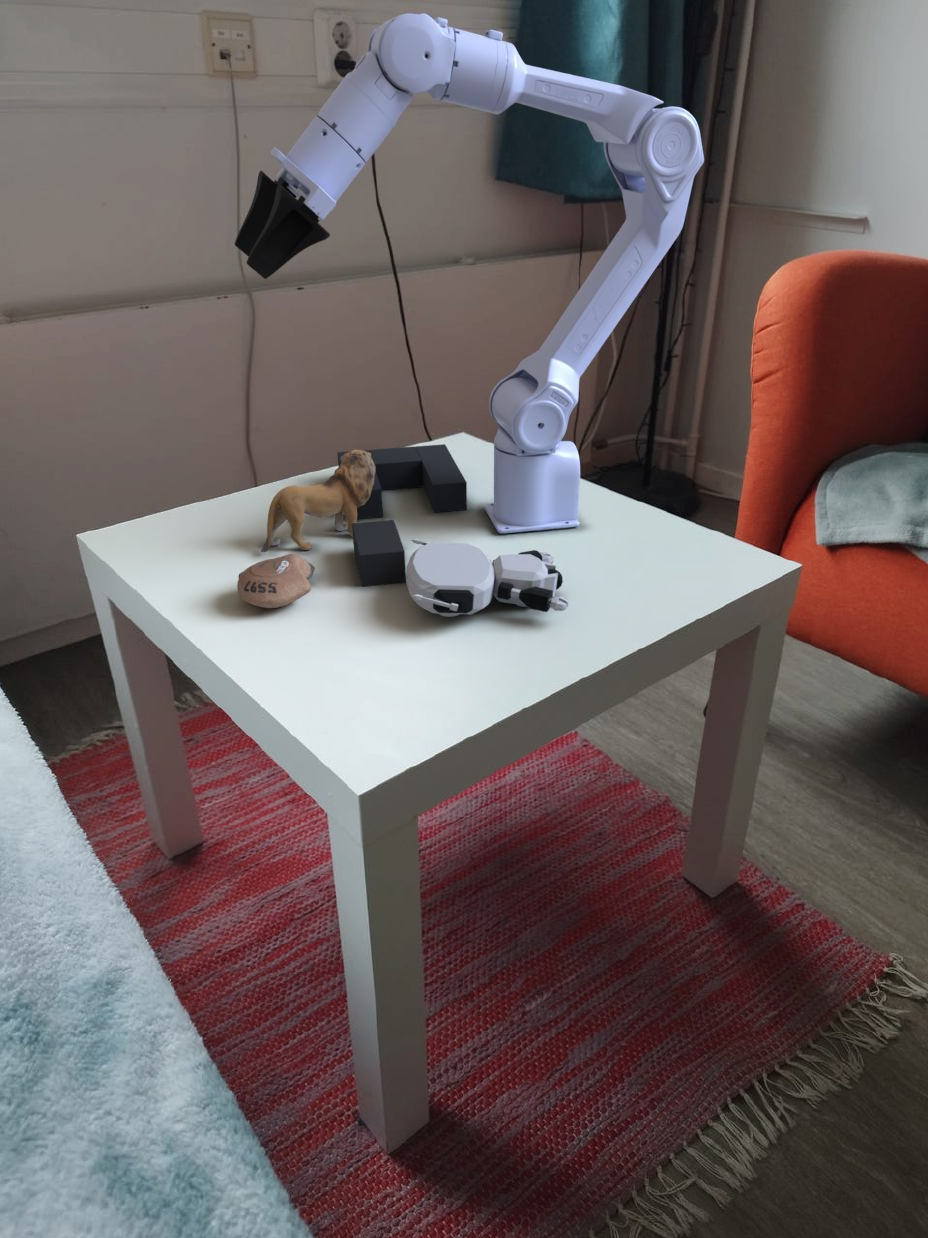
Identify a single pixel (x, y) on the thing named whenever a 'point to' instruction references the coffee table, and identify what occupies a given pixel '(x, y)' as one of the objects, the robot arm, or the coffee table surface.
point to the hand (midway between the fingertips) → (249, 261)
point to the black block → (378, 553)
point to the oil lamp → (275, 581)
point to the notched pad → (415, 477)
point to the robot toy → (480, 579)
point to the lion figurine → (324, 499)
